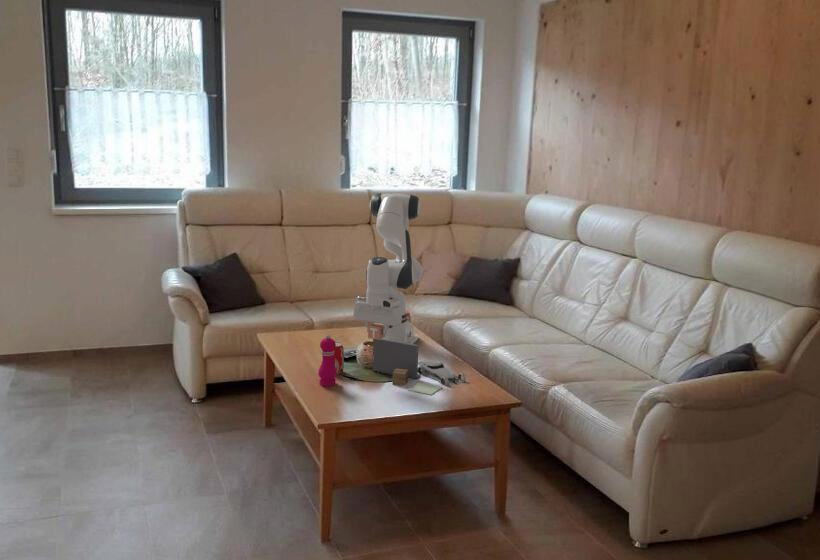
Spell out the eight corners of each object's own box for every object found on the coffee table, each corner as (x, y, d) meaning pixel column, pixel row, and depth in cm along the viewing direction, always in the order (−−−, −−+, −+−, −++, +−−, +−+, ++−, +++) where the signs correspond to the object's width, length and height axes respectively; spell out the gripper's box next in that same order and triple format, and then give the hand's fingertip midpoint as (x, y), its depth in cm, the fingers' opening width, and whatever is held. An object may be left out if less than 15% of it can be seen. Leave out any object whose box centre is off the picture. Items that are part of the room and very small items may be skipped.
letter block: (374, 334, 307) (374, 322, 306) (385, 336, 305) (385, 324, 304) (367, 337, 303) (368, 325, 302) (378, 340, 301) (379, 327, 300)
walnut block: (395, 380, 307) (395, 368, 306) (407, 381, 306) (408, 369, 305) (392, 384, 302) (392, 372, 301) (404, 385, 301) (405, 373, 300)
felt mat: (419, 382, 304) (419, 382, 304) (442, 387, 300) (442, 386, 300) (407, 390, 296) (407, 389, 296) (431, 395, 291) (431, 394, 291)
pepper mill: (315, 381, 302) (316, 332, 298) (333, 379, 305) (334, 331, 301) (321, 387, 296) (321, 337, 292) (339, 385, 299) (339, 336, 294)
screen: (377, 367, 321) (378, 335, 318) (420, 376, 312) (421, 343, 309) (372, 370, 317) (373, 338, 314) (415, 379, 308) (416, 346, 305)
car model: (445, 388, 301) (446, 375, 300) (410, 370, 320) (410, 358, 319) (467, 383, 307) (468, 371, 306) (431, 366, 327) (432, 354, 325)
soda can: (340, 375, 310) (341, 347, 307) (323, 374, 311) (324, 345, 309) (345, 370, 317) (346, 342, 314) (329, 368, 318) (329, 340, 316)
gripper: (350, 297, 303) (350, 331, 306) (396, 304, 294) (395, 339, 296) (359, 294, 308) (358, 327, 311) (404, 301, 299) (403, 335, 302)
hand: (376, 333), depth 304 cm, fingers closed on letter block, 5 cm apart
